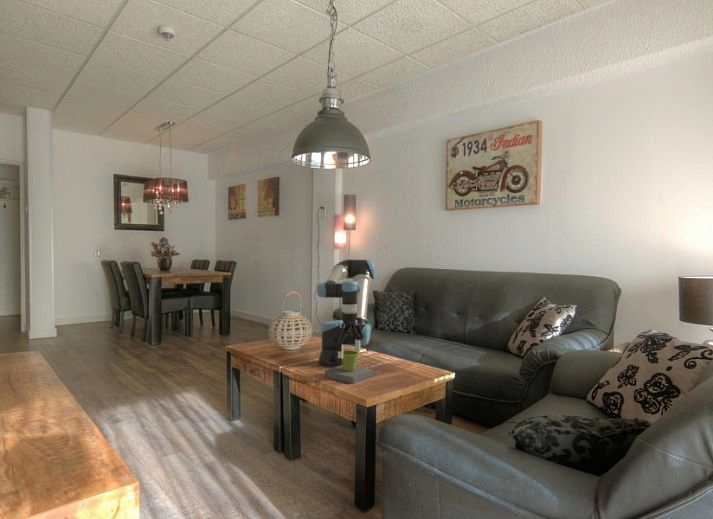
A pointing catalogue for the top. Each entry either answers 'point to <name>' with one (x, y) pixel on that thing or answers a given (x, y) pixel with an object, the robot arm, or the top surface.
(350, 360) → the plant pot
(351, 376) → the board
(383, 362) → the top surface
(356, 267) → the robot arm
